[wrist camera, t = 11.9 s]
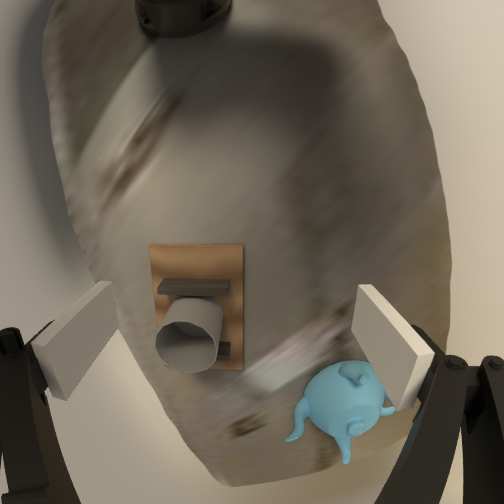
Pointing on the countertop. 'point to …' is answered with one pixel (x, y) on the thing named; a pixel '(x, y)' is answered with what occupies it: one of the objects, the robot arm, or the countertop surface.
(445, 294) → the countertop surface
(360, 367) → the teapot
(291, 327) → the countertop surface
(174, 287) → the end holder
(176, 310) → the cup
